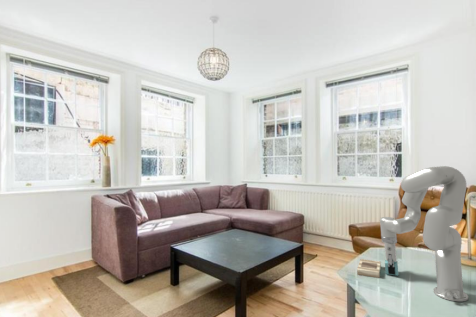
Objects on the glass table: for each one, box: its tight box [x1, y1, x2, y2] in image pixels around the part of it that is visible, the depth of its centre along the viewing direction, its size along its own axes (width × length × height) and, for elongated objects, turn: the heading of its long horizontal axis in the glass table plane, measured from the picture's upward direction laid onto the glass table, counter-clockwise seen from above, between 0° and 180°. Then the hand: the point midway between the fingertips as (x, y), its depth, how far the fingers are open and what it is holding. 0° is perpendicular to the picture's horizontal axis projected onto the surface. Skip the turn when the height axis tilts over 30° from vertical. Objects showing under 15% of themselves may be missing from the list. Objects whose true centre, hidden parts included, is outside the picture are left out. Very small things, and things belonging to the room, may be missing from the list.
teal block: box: [384, 259, 399, 277], centre depth 147 cm, size 6×6×6 cm
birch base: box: [356, 258, 382, 279], centre depth 153 cm, size 18×11×3 cm, turn 149°
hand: (391, 271), depth 147 cm, fingers closed on teal block, 6 cm apart
